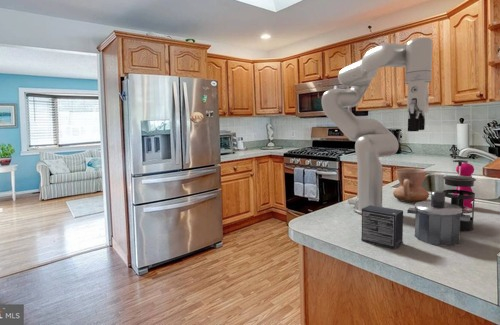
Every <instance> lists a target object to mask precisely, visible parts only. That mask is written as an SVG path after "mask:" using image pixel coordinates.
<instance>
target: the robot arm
mask: <svg viewBox="0 0 500 325" xmlns="http://www.w3.org/2000/svg"><path fill="white" fill-rule="evenodd" d="M432 62H433V40H432V39H431V38H430V37H426V36H425V37H417V38H416V37H415V38H412V39H411V40H409V41H407V43H406V44H405V43H404V44H403V43H394V42H392V43H390V42H388V43H383V44H380V45H377V46H375V47H374V48H371V49H369V50H367V51H366V52H365V54H364V55H363V57H362V58H361V59H359V60H358V61H355V62H353V63H350V64H348V65H346V66H344V67H343V68H342V69H341V70H339V72H338V75H337V79H338V82H339V84H341V85H343V86H346V87H350V88H331V89H328V90H326V91H325V92H324V93H323V94H322V96H321V107H322V110H323V113H324V114H325V116H326V117H327V118H328V119H329V120H330V121H331V122H333V124H334V125H335V126H336V127H337V128H338V129H339V130H340V131H341V132H342V133H343V134H344V135H345V137H346V138H347V139H348V140H349V141H350V142H351V141H352V142H355V144H354V151H355V155H356V156H355V157H356V162H357V164H356V165H357V198H356V199H353V198H348V200H347V203H348V205H354V206H353V209H352V210H353V211H354V213H357V214H360V215H362V208H365V207H367V206H369V205H372V206H378V207H383V185H384V183H383V182H384V181H383V180H384V179H383V178H384V177H383V176H384V174H383V173H384V172H383V170H384V169H383V165H382V163H381V160H380V158H384V157H385V158H386V157H391V156H394V155H395V154H396V153H397V152H398V150H399V141H398V138H397V137H396V136H395V135H394V133H392V132H391V131H390V130H389V129H388V128H387V127H386V126H385V125H384V124H383V123H381V122H380V121H379V120H377V119H374V118H359V117H357V116H356V115H355V114H354V113H353V112H352V111H351V110H349V109H347V108H355V107H356V106H358V104H359V103H360V102H361V100H362V99H363V98H364V95H365V93H366V92H367V90H368V88H369V86H370V84H371V83H372V79H374V78H375V77H376V76H377V74H378V72H379V71H378V70H379V69H380V68H385V67H389V68H391V67H392V68H405V71H404V72H405V74H404V84H405V85H407V97H406V98H407V103H406V105H407V106H406V109H407V113H408V115H407V132H419V131H424V130H425V128H426V127H425V125H426V123H425V122H426V119H425V114H426V113H429V111H430V110H429V109H430V108H429V83H431V82H432V71H433V70H432V66H433V63H432Z"/></svg>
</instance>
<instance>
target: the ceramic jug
mask: <svg viewBox="0 0 500 325" xmlns="http://www.w3.org/2000/svg"><path fill="white" fill-rule="evenodd" d="M395 174H396V178H397V180H398V183H399V184H400V186H397V187H396V188H395V189H394V190H393V191H392V195H393V197H394V198H395V199H397V200H399V201H401V202H402V201H403V202H407V203H417V202H423V201H426V200H428V199H429V196H430V193H429V192H428V190H427V189H426V188H424V187H423V186H422V185H423V182H424V181H425V179H426V176H427V170H426V169H424V168H413V167H406V168H405V167H403V168H398V169H395Z"/></svg>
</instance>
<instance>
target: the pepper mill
mask: <svg viewBox="0 0 500 325" xmlns="http://www.w3.org/2000/svg"><path fill="white" fill-rule="evenodd" d="M464 160H466V161H468V162H462V166H461V168H460V176H465V177H471V178H473V175H472V174H474V173H475V168H474V165H472V164H471V163H469V160H468V159H467V158H466V159H464ZM455 171H456V173H457V175H456V176H459V166H458V165H457V166H456V167H455ZM455 190H458V187H456V188H455ZM459 190H465V191H470V192H473V193H474V191H473V189H472V187H459ZM452 194H453V195H458V193H452ZM464 195H466V194H464ZM463 206H465V207H469V208H471V209H473V199H464V204H463Z"/></svg>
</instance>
